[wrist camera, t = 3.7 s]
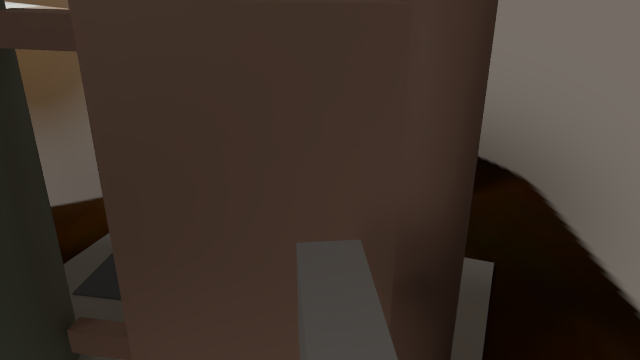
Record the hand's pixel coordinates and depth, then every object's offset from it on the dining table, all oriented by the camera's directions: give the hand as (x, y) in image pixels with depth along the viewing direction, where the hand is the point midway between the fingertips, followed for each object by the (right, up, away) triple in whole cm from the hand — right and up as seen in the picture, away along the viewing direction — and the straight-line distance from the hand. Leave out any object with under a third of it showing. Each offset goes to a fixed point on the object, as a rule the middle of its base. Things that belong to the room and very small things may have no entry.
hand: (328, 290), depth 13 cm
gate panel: (-3, -4, +6) cm, 8 cm away
